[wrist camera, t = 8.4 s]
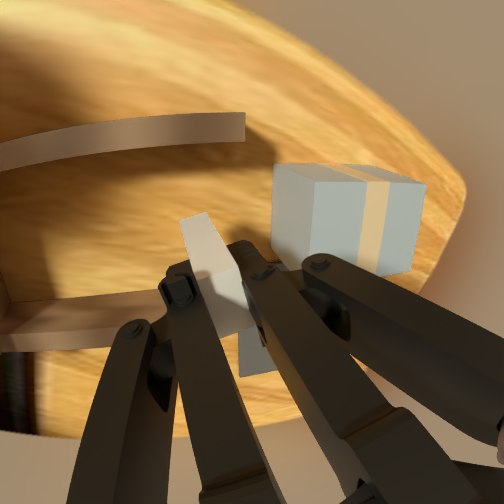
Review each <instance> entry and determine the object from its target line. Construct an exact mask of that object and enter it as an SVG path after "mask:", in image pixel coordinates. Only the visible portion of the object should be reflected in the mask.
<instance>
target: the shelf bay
mask: <svg viewBox="0 0 504 504" xmlns="http://www.w3.org/2000/svg"><path fill="white" fill-rule="evenodd" d="M216 142H245V112H231V113H193V114H175V115H161V116H149V117H139V118H129V119H121V120H113V121H106V122H99V123H92V124H86V125H80V126H74V127H68V128H63V129H58V130H53V131H48V132H43V133H38V134H34V135H30V136H25V137H21V138H17V139H13V140H9V141H6V142H2V143H0V172H1V171H5V170H10V169H14V168H18V167H23V166H28V165H32V164H37V163H42V162H47V161H53V160H58V159H64V158H70V157H76V156H82V155H89V154H95V153H102V152H110V151H118V150H126V149H135V148H145V147H155V146H167V145H180V144H196V143H216ZM166 312H167V307H166V305H165V303H164V301H163V298H162V296H161V294H160V292H159V289H153V290H144V291H135V292H125V293H116V294H106V295H96V296H86V297H76V298H65V299H54V300H43V301H31V302H19V303H11V302H10V299H9V296H8V293H7V290H6V288H5V285H4V282H3V278H2V275H1V272H0V355H1V352H32V351H57V350H75V349H90V348H104V347H112V344H113V341H114V339H115V336H116V334H117V332H118V330H119V329H120V328H121V327H122V326H123V325H124V324H125V323H127V322H129V321H131V320H135V319H146V320H148V322H149V323H150V324H151V323H153V322H155V321H157V320H158V319H160V318H161V317H162V316H163V315H164V314H165V313H166Z"/></svg>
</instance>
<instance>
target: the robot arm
mask: <svg viewBox="0 0 504 504" xmlns="http://www.w3.org/2000/svg"><path fill="white" fill-rule="evenodd" d="M179 224H180V227H181V231H182V235H183V238H184V242H185V245H186V249H187V252H188V256H189V260H186V261H183V262H180V263H177V264H175V265H172V266H169V268H168V270H167V272H166V277H165V278H164V279H162V281H161V282H160V283H159V285H158V289H159V292H160V294H161V296H162V298H163V301H164V303H165V305H166V307H167V312H166V313H165V314H164V315H163V316H162V317H161V318H160V319H158V320H157V321H155V322H153V323H151V324H150V323H149V322H148V320H146V319H135V320H131V321H129V322H127V323H125V324H124V325H123V326H122V327H121V328H120V329H119V330H118V332H117V334H116V336H115V339H114V341H113V344H112V347H111V350H110V352H109V355H108V358H107V361H106V363H105V366H104V369H103V372H102V375H101V378H100V381H99V384H98V387H97V390H96V393H95V396H94V399H93V403H92V406H91V409H90V412H89V416H88V419H87V422H86V426H85V429H84V433H83V436H82V440H81V443H80V447H79V451H78V455H77V459H76V463H75V466H74V471H73V475H72V479H71V483H70V488H69V492H68V497H67V502H66V504H167V495H168V481H169V468H170V455H171V444H172V434H173V424H174V414H175V405H176V396H177V388H178V382H179V387H180V393H181V398H182V403H183V408H184V412H185V417H186V422H187V426H188V431H189V435H190V439H191V443H192V448H193V452H194V456H195V460H196V464H197V468H198V471H199V475H200V479H201V483H202V491H201V492H200V493H199V503H200V504H287V503H286V501H285V499H284V497H283V494H282V492H281V490H280V488H279V486H278V483H277V481H276V479H275V477H274V475H273V472H272V470H271V468H270V466H269V463H268V461H267V459H266V456H265V454H264V451H263V449H262V447H261V445H260V442H259V440H258V437H257V435H256V432H255V430H254V428H253V425H252V423H251V420H250V418H249V415H248V413H247V410H246V408H245V405H244V403H243V400H242V398H241V395H240V393H239V390H238V387H237V385H236V382H235V380H234V377H233V374H232V372H231V369H230V366H229V364H228V361H227V358H226V356H225V353H224V350H223V347H222V345H221V342H220V340H219V339H220V338H223V337H226V336H229V335H231V334H234V333H237V332H239V331H242V330H245V329H248V328H250V327H253V326H255V323H256V326H257V329H258V333H259V336H260V340H261V343H262V346H263V347H266V348H267V350H268V352H269V354H270V356H271V358H272V360H273V362H274V363H275V365H276V367H277V369H278V371H279V373H280V375H281V377H282V378H283V380H284V382H285V384H286V386H287V388H288V390H289V391H290V393H291V395H292V397H293V399H294V401H295V402H296V404H297V406H298V408H299V410H300V411H301V413H302V415H303V417H304V419H305V421H306V422H307V424H308V426H309V428H310V429H311V431H312V433H313V435H314V437H315V438H316V440H317V442H318V444H319V446H320V447H321V449H322V451H323V453H324V454H325V456H326V458H327V460H328V461H329V463H330V465H331V466H332V468H333V470H334V472H335V473H336V475H337V477H338V480H339V482H340V485H341V488H342V490H343V492H344V494H345V496H346V499H345V500H344V501H342V502H341V503H340V504H504V468H497V467H489V466H483V465H477V464H471V463H466V462H460V461H455V460H451V459H450V458H449V456H448V455H447V454H446V453H445V452H444V451H443V449H442V448H441V447H440V445H439V444H438V443H437V442H436V441H435V439H434V438H433V437H432V436H431V435H430V433H428V431H427V430H426V429H425V427H424V426H423V425H422V424H421V423H420V421H419V420H418V419H417V418H416V417H415V415H414V414H412V413H411V412H410V411H409V410H408V409H406V408H404V407H397V408H395V407H393V406H392V405H391V404H390V403H389V402H388V401H387V400H386V398H385V397H384V396H383V395H382V394H381V392H380V391H379V390H378V388H377V387H376V386H375V385H374V383H373V382H372V381H371V380H370V379H369V377H368V376H367V375H366V374H365V372H364V371H363V370H362V369H361V367H360V366H359V365H358V364H357V363H356V361H355V360H354V359H353V358H352V356H354V357H355V358H356V359H358V360H359V361H361V362H362V363H363V364H365V365H366V366H368V367H369V368H370V369H372V370H373V371H375V372H376V373H377V374H379V375H380V376H382V377H383V378H385V379H386V380H387V381H389V382H390V383H392V384H393V385H395V386H396V387H397V388H399V389H400V390H402V391H403V392H405V393H406V394H407V395H409V396H410V397H412V398H413V399H415V400H416V401H418V402H419V403H420V404H422V405H423V406H425V407H426V408H428V409H429V410H431V411H432V412H434V413H435V414H436V415H438V416H440V417H441V418H442V419H444V420H445V421H447V422H448V423H450V424H451V425H453V426H454V427H456V428H457V429H459V430H460V431H462V432H463V433H465V434H467V435H468V436H470V437H472V438H474V439H476V440H478V441H481V442H483V443H485V444H488V445H491V446H495V447H497V448H498V452H497V459H498V462H499V463H501V464H504V339H503V338H502V337H500V336H498V335H496V334H494V333H492V332H490V331H488V330H486V329H484V328H482V327H480V326H479V325H477V324H475V323H473V322H471V321H469V320H467V319H465V318H463V317H461V316H459V315H456V314H455V313H453V312H451V311H449V310H447V309H445V308H443V307H441V306H439V305H437V304H435V303H433V302H431V301H429V300H427V299H425V298H423V297H421V296H419V295H417V294H414V293H412V292H410V291H408V290H406V289H404V288H402V287H400V286H398V285H396V284H394V283H392V282H390V281H388V280H385V279H383V278H381V277H379V276H377V275H375V274H373V273H371V272H369V271H366V270H364V269H362V268H360V267H358V266H356V265H354V264H352V263H349V262H347V261H345V260H343V259H341V258H339V257H336V256H334V255H331V254H328V253H317V254H313V255H311V256H308V257H307V258H305V259H304V260H303V261H302V263H301V267H302V269H300V270H294V271H281V270H280V269H279V268H278V267H277V266H276V265H274V264H270V263H267V262H266V260H265V259H264V258H263V257H262V255H261V254H260V253H259V252H258V250H257V249H256V248H255V246H254V245H253V244H252V243H251V242H249V241H246V240H241V241H238V242H235V243H232V244H230V245H227V246H226V245H225V243H224V242H223V240H222V238H221V237H220V235H219V233H218V232H217V230H216V228H215V226H214V225H213V223H212V221H211V220H210V218H209V216H208V214H207V213H206V212H203V213H200V214H197V215H194V216H191V217H188V218H185V219H182V220H179ZM253 319H254V320H253ZM254 321H255V323H254ZM350 354H351V355H352V356H351V355H350Z"/></svg>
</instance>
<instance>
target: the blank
mask: <svg viewBox="0 0 504 504" xmlns="http://www.w3.org/2000/svg"><path fill="white" fill-rule="evenodd" d="M426 185H427V184H425V183H422V182H419V181H416V180H414V179H411V178H408V177H405V176H402V175H399V174H396V173H393V172H390V171H387V170H384V169H381V168H378V167H375V166H370V165H349V164H337V163H317V164H315V163H273V191H272V217H271V240H270V248H271V249H272V250H273V252H274V253H275V254H276V255H277V256H278V257H279V259H280V260H281V261H282V262H283V263H284V265H285V266H286V267H287V268H288V269H289V271H294V270H300V269H302V267H301V263H302V261H303V260H304V259H305V258H307V257H308V256H311V255H313V254H317V253H328V254H331V255H334V256H336V257H339V258H341V259H343V260H345V261H347V262H349V263H352V264H354V265H356V266H358V267H360V268H362V269H364V270H366V271H369V272H371V273H373V274H375V275H377V276H379V277H382V276H387V275H393V274H398V273H403V272H409V271H410V268H411V264H412V260H413V255H414V251H415V246H416V242H417V237H418V232H419V227H420V221H421V216H422V210H423V204H424V198H425V192H426Z"/></svg>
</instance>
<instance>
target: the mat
mask: <svg viewBox="0 0 504 504" xmlns="http://www.w3.org/2000/svg"><path fill="white" fill-rule="evenodd" d="M270 264H274V265H276V266H277V267H278V268H279V269H280V270H281V271H289V269H288V268H287V267H286V266H285V265H284V263H283V262H274V263H270ZM253 320H254V319H253ZM254 323H255V321H254ZM238 349H239V376H240V378H241V377H246V376H251V375H256V374H261V373H266V372H271V371H276V370H278V369H277V367H276V365H275V363H274V362H273V360H272V358H271V356H270V354H269V352H268V350H267V348H266V347H263V346H262V343H261V340H260V336H259V333H258V329H257V326H256V323H255V326H253V327H250V328H248V329H245V330H242V331H239V332H238Z"/></svg>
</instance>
